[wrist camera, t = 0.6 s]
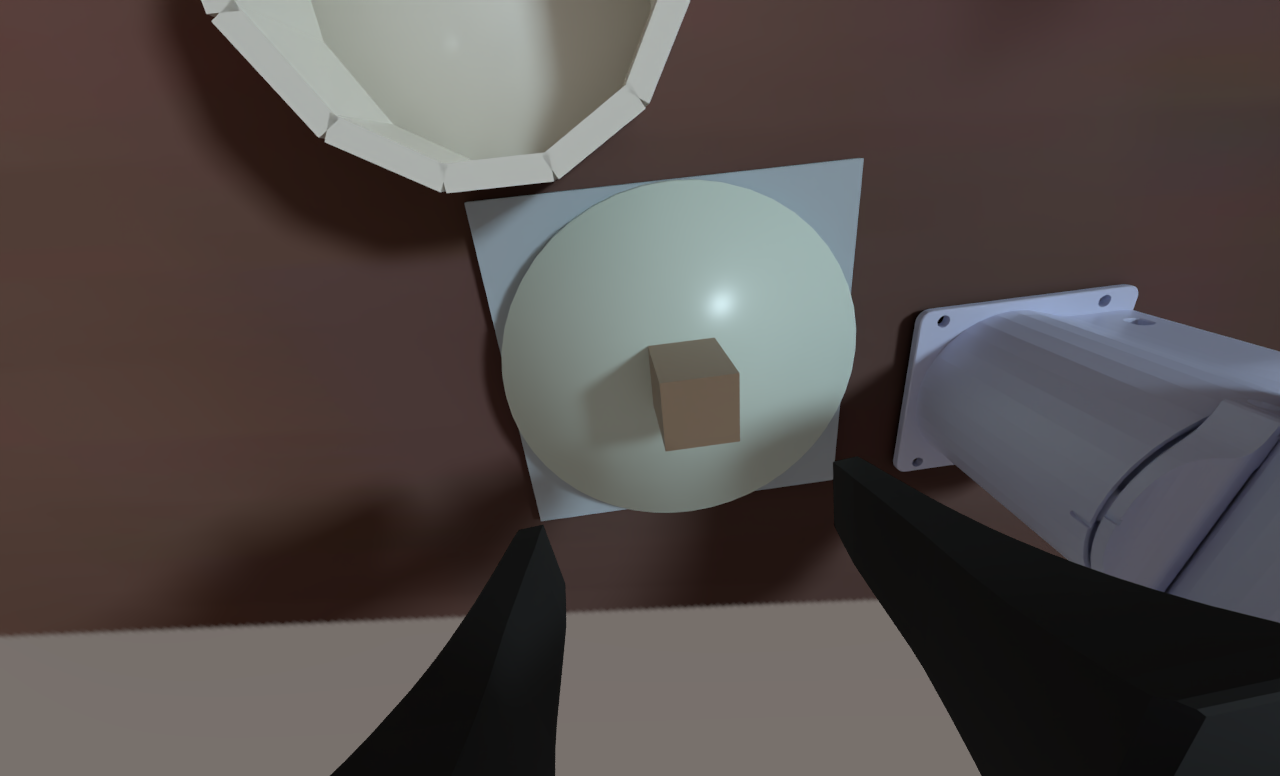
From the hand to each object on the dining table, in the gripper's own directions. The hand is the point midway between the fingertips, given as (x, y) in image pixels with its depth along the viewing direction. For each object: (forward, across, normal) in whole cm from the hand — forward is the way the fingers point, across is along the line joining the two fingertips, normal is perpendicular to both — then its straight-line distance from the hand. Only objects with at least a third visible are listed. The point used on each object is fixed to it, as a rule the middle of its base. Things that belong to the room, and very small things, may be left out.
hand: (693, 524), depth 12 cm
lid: (+9, -1, 0) cm, 9 cm away
